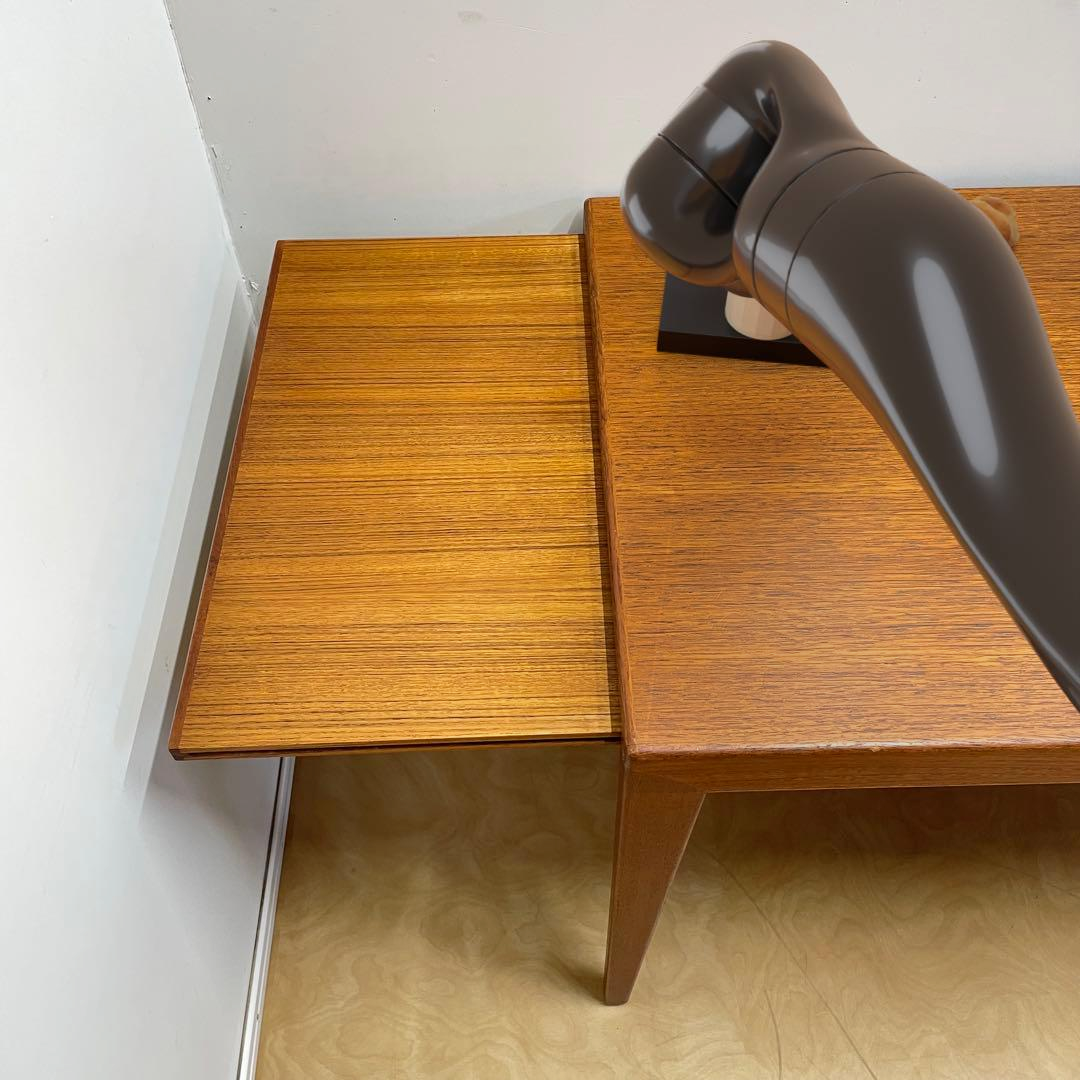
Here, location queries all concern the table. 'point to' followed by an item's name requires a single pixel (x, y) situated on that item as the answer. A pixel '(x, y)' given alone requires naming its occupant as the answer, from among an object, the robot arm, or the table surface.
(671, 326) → the hob
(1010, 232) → the pastry
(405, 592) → the table surface
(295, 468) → the table surface
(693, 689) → the table surface
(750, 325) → the cup
